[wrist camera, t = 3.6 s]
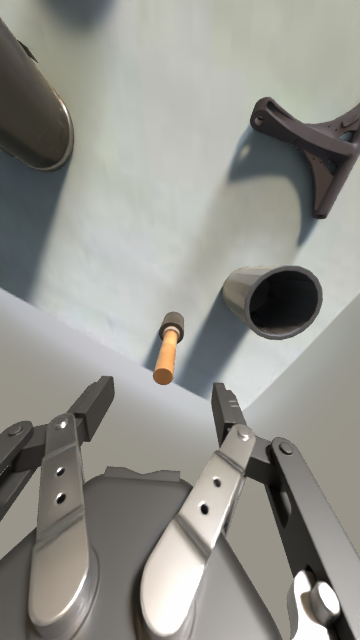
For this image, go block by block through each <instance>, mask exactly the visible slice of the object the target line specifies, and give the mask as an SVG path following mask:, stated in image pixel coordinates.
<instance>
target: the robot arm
mask: <svg viewBox="0 0 360 640" xmlns="http://www.w3.org/2000/svg"><path fill="white" fill-rule="evenodd" d="M29 56H30V57H31V58H32V59H33V60H35V61H36V59H35V58H34V56H33V55H32V54H31V52H30V51H29V49H28V48H27V47H26V46H25V45H23V44H22V43H21V42H20V41H18V40H17V39H16V38H15V37H14V35H13V34H12V32H11V31H10V30H9V28H8V27H7V26H6V24H5V23H4V22H3V20H2V19H1V17H0V149H1V150H2V151H4V152H6V153H7V154H9V155H10V156H12V157H17V158H18V159H19V160H20V161H21V162H23V163H24V164H26V165H27V166H29V167H31V168H32V169H35V170H37V171H41V172H53V171H56V170H58V169H60V168H61V167H62V166H64V165H65V163H66V162H67V161H68V159H69V157H70V155H71V153H72V149H73V144H74V130H73V124H72V120H71V117H70V114H69V112H68V110H67V108H66V106H65V104H64V102H63V101H62V99H61V98H60V97H59V95H58V94H57V93H56V91H55V90H54V89H53V88H52V87H51V86H50V85H49V83H48V82H47V80H46V79H45V78H44V76H43V75H42V74H41V72H40V71H39V70H38V68H37V67H36V65H35V64H34V62H33V61H32V60H31V58H30V57H29ZM36 62H37V61H36ZM37 63H38V62H37ZM114 393H115V392H114V381H113V377H112V376H102V377H101V378H100V379H99V381H98V382H94V383H93V384H91V385H90V386H88V387H87V388H86V390H85V391H84V393H82V394H81V396H80V397H79V398H78V399H77V400H76V402H75V403H74V404H73V405H72V406H71V408H70V409H69V410H68V411H67V412H66V413H64V414H61V415H59V416H57V417H55V418H54V419H52V420H51V422H49V424H45V425H41V426H36V427H33V425H32V423H31V422H30V421H21V422H18V423H16V424H13V425H12V426H10V427H8V428H7V429H6V430H4V431H3V432H2V433H1V434H0V474H1V473H2V471H4V472H3V473H2V474H1V475H0V521H1V520H2V519H3V517H4V516H5V514H6V513H7V511H8V510H9V508H10V507H11V505H12V504H13V503H14V501H15V500H16V498H17V497H18V495H19V494H20V492H21V491H22V490H23V488H24V487H25V485H26V484H27V482H28V481H29V479H30V478H31V477H32V475H33V474H34V472H35V471H36V469H37V468H38V467H39V466H41V477H40V490H39V504H38V518H37V527H36V528H35V529H34V530H33V531H32V532H31V533H29V534H28V535H27V536H26V537H25V538H24V539H23V540H22V541H21V542H20V543H18V544H17V545H16V546H15V547H14V548H13V549H12V550H11V551H10V552H9V553H8V554H6V555H5V556H4V557H3V558H2V559H1V560H0V640H282V637H281V635H280V633H279V630H278V628H277V626H276V624H275V622H274V620H273V618H272V616H271V614H270V613H269V611H268V609H267V607H266V606H265V604H264V603H263V601H262V599H261V597H260V596H259V594H258V593H257V591H256V589H255V587H254V586H253V584H252V582H251V580H250V579H249V577H248V576H247V574H246V572H245V570H244V569H243V567H242V565H241V564H240V562H239V560H238V559H237V557H236V555H235V554H234V552H233V550H232V548H231V547H230V545H229V543H228V542H227V540H226V536H227V533H228V531H229V528H230V525H231V522H232V519H233V515H234V512H235V509H236V506H237V503H238V500H239V497H240V495H241V492H242V489H243V486H244V483H245V480H246V477H249V478H252V479H254V480H256V481H258V482H261V483H263V484H264V486H265V489H266V492H267V495H268V499H269V501H270V505H271V508H272V511H273V514H274V517H275V521H276V524H277V527H278V530H279V534H280V537H281V540H282V543H283V546H284V549H285V552H286V556H287V559H288V562H289V565H290V568H291V572H292V575H293V578H294V581H293V583H292V585H291V587H290V589H289V591H288V594H287V609H288V614H289V620H290V627H291V637H290V640H360V557H359V556H358V554H357V552H356V550H355V549H354V547H353V545H352V543H351V542H350V540H349V538H348V536H347V534H346V533H345V531H344V529H343V528H342V526H341V524H340V522H339V521H338V519H337V517H336V515H335V513H334V512H333V510H332V508H331V506H330V505H329V503H328V501H327V499H326V497H325V496H324V494H323V492H322V491H321V489H320V487H319V485H318V483H317V482H316V480H315V478H314V476H313V474H312V473H311V471H310V469H309V467H308V466H307V464H306V462H305V460H304V459H303V457H302V455H301V453H300V452H299V450H298V449H297V447H296V446H295V445H294V444H293V443H291V442H290V441H288V440H287V439H284V438H280V437H277V438H274V439H273V440H272V442H270V441H268V440H265V439H262V438H260V437H258V436H256V435H255V434H254V432H253V431H252V430H251V429H250V428H249V427H248V426H247V425H246V422H245V419H244V417H243V414H242V412H241V409H240V407H239V404H238V402H237V399H236V396H235V395H234V394H233V393H232V391H231V390H226V389H225V386H224V383H213V391H212V399H211V404H212V411H213V416H214V421H215V426H216V432H217V437H218V442H219V448H220V449H219V450H218V451H215V452H214V453H213V455H212V457H211V458H210V460H209V462H208V463H207V465H206V467H205V469H204V470H203V472H202V474H201V476H200V477H199V479H198V481H197V482H196V484H195V485H194V487H193V486H192V485H190V484H189V483H188V482H186V481H185V480H183V479H180V471H169V470H167V471H166V470H161V471H156V472H152V473H147V474H139V473H137V472H134V471H132V470H129V469H127V468H124V467H108V466H107V468H106V470H105V473H104V474H101V475H99V476H96V477H94V478H92V479H91V480H89V481H87V482H86V483H85V478H84V470H83V463H82V455H81V448H80V446H81V445H82V443H83V441H84V442H90V441H91V439H92V437H93V435H94V434H95V432H96V430H97V428H98V426H99V425H100V423H101V421H102V419H103V417H104V415H105V414H106V412H107V410H108V408H109V407H110V405H111V403H112V401H113V399H114ZM8 465H9V466H8ZM7 466H8V467H7ZM6 467H7V468H6ZM5 468H6V469H5ZM4 469H5V470H4Z"/></svg>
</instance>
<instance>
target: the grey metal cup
mask: <svg viewBox="0 0 360 640" xmlns="http://www.w3.org/2000/svg"><path fill="white" fill-rule="evenodd" d="M222 297H223V300H224V303H225V305H226V306H227V307H228V309H230V310H231V311H232V312H233V313H234V314H235V315H236V316H237V317H238V318H239V319H240V320H242V321H243V322H244V323H245V324H246V325H247V326H248V327H249V328H250V329H251V330H253V331H254V332H255V333H256V334H257V335H259V336H261V337H264V338H266V339H271V340H283V339H287V338H291V337H293V336H295V335H297V334H299V333H301V332H302V331H304V330H305V329H306V328H307V327H309V326H310V325H311V324H312V323H313V321H314V320H315V318H316V317H317V315H318V314H319V311H320V308H321V305H322V301H323V298H322V287H321V285H320V283H319V280H318V278H317V277H316V276H315V275H314V274H313V273H312V272H311V271H309V270H307V269H305V268H303V267H300V266H292V265H276V266H247V267H242V268H239V269H237V270H235V271H234V272H233V273H231V274H230V275H229V277H228V278H227V279H226V281H225V283H224V286H223V290H222Z"/></svg>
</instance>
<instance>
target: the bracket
mask: <svg viewBox="0 0 360 640" xmlns="http://www.w3.org/2000/svg"><path fill="white" fill-rule="evenodd" d="M250 124H251V126H252V127H253V128H254V129H256V130H258V131H260V132H262V133H265V134H267V135H269V136H272V137H274V138H276V139H279V140H281V141H284V142H286V143H288V144H291V145H293V146H295V147H298V148H299V150H300V151H301V152H302V153H303V155H304V156H305V158H306V159H307V161H308V163H309V165H310V167H311V171H312V175H313V180H314V205H313V211H315V213H314V215H313V217H314V218H316V219H325V218H326V217H327V215H328V213H329V212H330V210H331V208H332V206H333V204H334V202H335V200H336V198H337V196H338V194H339V193H340V191H341V189H342V187H343V185H344V183H345V181H346V179H347V177H348V175H349V174H350V172H351V170H352V168H353V166H354V164H355V162H356V160H357V158H358V156H359V155H360V103H359V104H358V105H357V106H356V107H354V108H353V109H352V110H350V111H349V112H347V113H346V114H344V115H342V116H341V117H339V118H337V119H335V120H333V121H330V122H325V123H319V124H304V123H302V122H300V121H299V120H297V119H295V118H294V117H293V116H292V115H290V114H289V113H288V112H287V111H285V110H284V109H283V108H282V107H281V106H279V105H278V104H277V103H276V102H275V100H274V99H272V98H271V97H264V98H262V99H260V100H259V101H258V102H257V103H256V104H255V107H254V109H253V112H252V115H251V118H250ZM347 132H353V133H355V134H354V136H353V138H352V140H351V142H350V143H349V142H345V141H342V140H338V138H339V137H340V136H341V135H342V134H344V133H347ZM328 161H331V162H333V163H335V164H338V167H337V169H336V171H335V173H334V175H332V174H331V173H330V172H329V170H328Z"/></svg>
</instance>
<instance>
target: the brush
mask: <svg viewBox="0 0 360 640" xmlns="http://www.w3.org/2000/svg"><path fill="white" fill-rule="evenodd" d="M159 335H160V338H161V340H162V341H163V343H162V346H161V349H160V353H159V356H158V360H157V363H156V366H155V370H154V373H153V378H154V380H155V382H157V383H158V384H161V385H166V384H169V383H170V382H171V381H172V380H173V374H174V365H175V355H176V345H177V344H178V343H179V342H180V341H181V340H182V339H183V336H184V319H183V317H182V315H181V314H180V313H178V312H170V313H168V314H167V315H166V316H165V318H164V321H163V323H162V326H161V328H160V331H159Z"/></svg>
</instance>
